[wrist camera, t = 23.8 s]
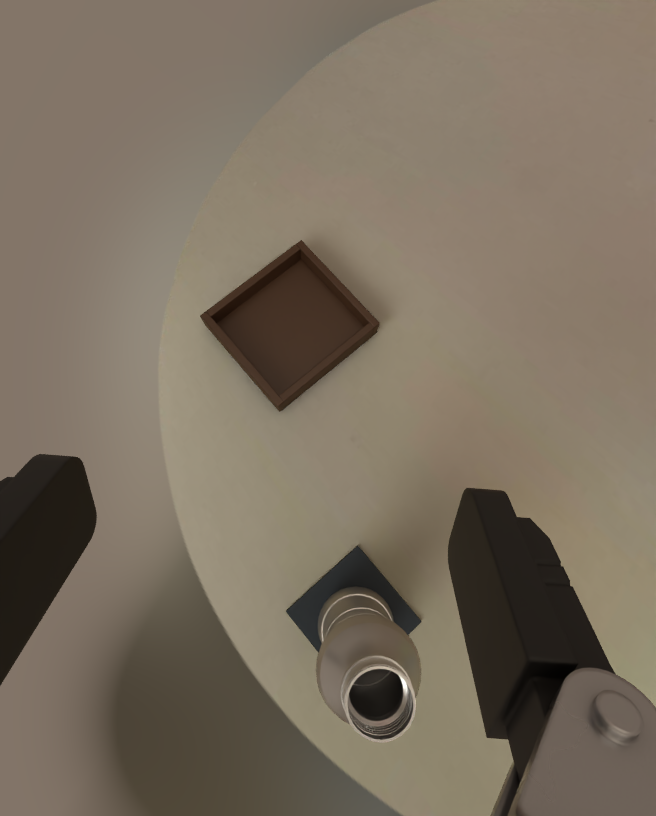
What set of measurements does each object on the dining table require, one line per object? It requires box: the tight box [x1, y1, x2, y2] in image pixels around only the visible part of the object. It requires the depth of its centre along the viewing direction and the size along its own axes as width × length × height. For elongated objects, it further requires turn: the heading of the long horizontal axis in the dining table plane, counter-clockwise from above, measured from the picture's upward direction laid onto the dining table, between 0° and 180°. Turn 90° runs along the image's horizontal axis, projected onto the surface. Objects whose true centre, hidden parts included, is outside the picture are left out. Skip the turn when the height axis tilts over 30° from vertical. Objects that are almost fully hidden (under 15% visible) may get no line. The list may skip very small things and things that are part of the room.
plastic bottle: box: [316, 586, 421, 742], centre depth 33 cm, size 6×7×20 cm
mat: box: [286, 546, 421, 652], centre depth 43 cm, size 9×9×1 cm
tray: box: [200, 240, 379, 412], centre depth 49 cm, size 14×13×2 cm
